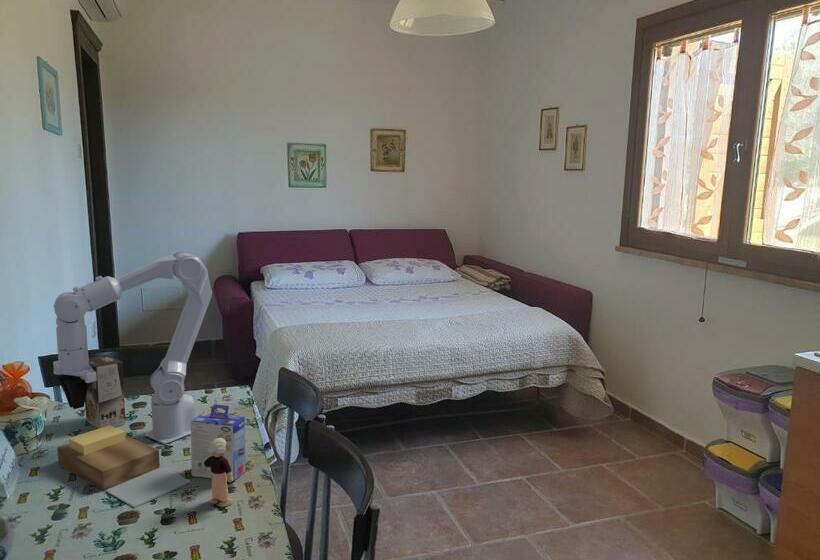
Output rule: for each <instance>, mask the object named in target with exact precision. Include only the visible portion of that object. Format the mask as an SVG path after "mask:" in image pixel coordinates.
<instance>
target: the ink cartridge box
mask: <svg viewBox="0 0 820 560" xmlns="http://www.w3.org/2000/svg"><path fill="white" fill-rule="evenodd" d="M218 409H222V410H224V412H221V411H220V412H219V411H215V410H218ZM229 410H230V406H229V405H225V404H214V403H213V406H212V408H211V411H210V413H209V412H203V413H201V414H199V415H198V416H196V418H195V419H193V420H192V421H191V434H190V453H191V454H190V455H191V456H190V457H191V458H190V461H191V476H192V477H198V478H204V479H205V478H206V479H212V472H211V467H209V468H208V471H206V472H204V471H203V467H204V461H205V460H206V459H208V458H209V457H210V456H214V455H213V454H212V453H210V452H208V448H209V446H210V444H211V443H212V442H213V441H214V440H215V439H217V438H223V439H225V441H226V452H225V454H224V455H223V457H224V458H226V459H227V460H228V462H229V465H230V468H231V470H232V477H233V481H232V482H234V481H235V480H237V479H238V478H239V477H240V476H242V475H243V474H244V473H245V472H246V469H247V468H246V417H245V416H243V415H232V414H231V415H229V414H228V413H229ZM227 482H228V478H227Z"/></svg>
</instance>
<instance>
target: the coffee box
mask: <svg viewBox="0 0 820 560" xmlns="http://www.w3.org/2000/svg"><path fill="white" fill-rule="evenodd" d="M123 363H124V362H123V361H121V360H119V359H117V358H114V357H112V356H111V355H108V354H106V355H105V354H104V355H101V356H100V355H99V356H95V357H91V358H89V365H90V366H91V368H92V370H93V371H94V372H96V378H97V381H94V382H91V384H90V386H89V388H88V391H87V395H86V399H85V404H84V407H85V420H86V422H87V423H89V424H90V425H91V426H93V427H95V428H96V429H99V428H102V427H105V426H108V425H112V426H114V427H116V428H117V427H119V426H123V425H125V424H126V422H127V421H126V409H125V408H126V405H125V404H126V403H125V389H124V388H125V387H124V385H125V384H124V371H123V370H124V368H123V367H124V366H123Z"/></svg>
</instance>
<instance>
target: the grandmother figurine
mask: <svg viewBox="0 0 820 560" xmlns="http://www.w3.org/2000/svg"><path fill="white" fill-rule="evenodd" d="M208 452H210V453H212V454H213V455H214V456H210V457H209V458H208V459H206V460H205V461H204V467H203V471H204V472H206V471H208V468H209V467H211V472H212V478H211V494H212V495H211V497H212V498H211V499H210V501H209V503H210V504H213V505H215V504H216V505H217V504H218V506H219V507H220V508H221V507H222V508H224V507H228V506H230V505H233V504H234V499H233V498H231V497H229V489H228V482H229V483H232V482H234V481H233V477H232V470H231V468H230V465H229V462H228V460H227V459H226V458H224V457H223V455H224V454H225V452H226V441H225V439H223V438H217V439H215V440H214V441H213V442H212V443H211V444H210V446H209V448H208ZM227 478H228V481H227Z"/></svg>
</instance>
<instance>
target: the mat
mask: <svg viewBox="0 0 820 560" xmlns="http://www.w3.org/2000/svg"><path fill="white" fill-rule="evenodd" d="M190 483H191V481H190V480H189V479H187V478H185V477H182V476H180V475H178V474H176V473H174V472H172V471H170V470H168V469H166V468H164V467H162V466H160V468H158V469H155V470H153V471H151V472H148V473H146V474H143V475H141V476H139V477H136V478H134V479H131V480H129V481H126V482H124V483H122V484H119V485H117V486H114V487H112V488H110V489H107V490H105V493H107V494H109V495H111V496H113V497H114V498H116V499H118V500H120V501H122V502H123V503H125V504H126V505H128V506H131V507H132V508H134V509H136V508H138V507H140V506H142V505H144V504H146V503H148V502H151V501H153V500H156V499H158V498H159V497H163V496H164V495H167V494H169V493H170V492H173V491H175V490H177V489H180V488H182V487H184V486H185V485H188V484H190Z"/></svg>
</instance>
